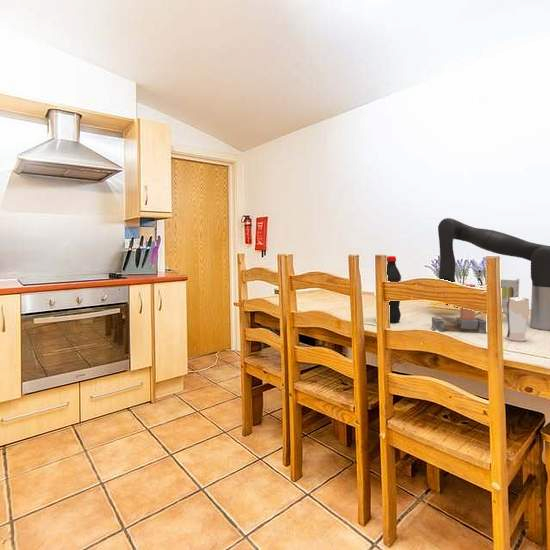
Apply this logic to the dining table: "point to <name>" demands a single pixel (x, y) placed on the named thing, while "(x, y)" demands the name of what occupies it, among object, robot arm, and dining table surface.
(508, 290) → the supplement box
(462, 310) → the tall salmon pink pillar
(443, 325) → the rail
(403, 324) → the dining table surface
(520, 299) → the beer glass
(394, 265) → the cola bottle
